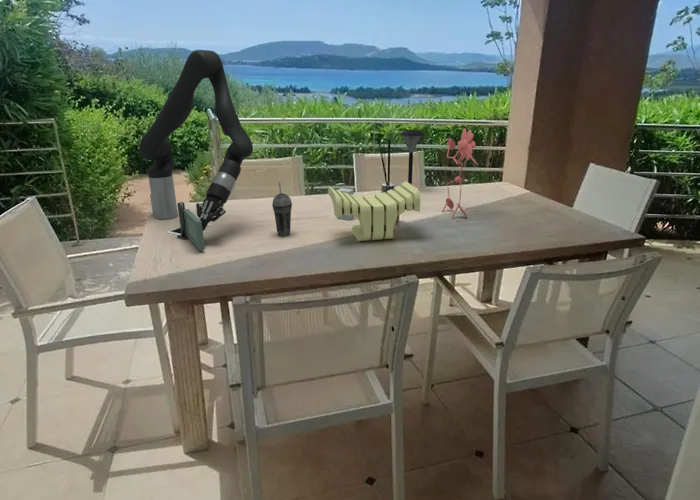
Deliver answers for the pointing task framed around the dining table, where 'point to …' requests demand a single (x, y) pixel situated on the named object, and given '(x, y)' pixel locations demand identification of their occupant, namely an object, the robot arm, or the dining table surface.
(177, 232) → the cell phone
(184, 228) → the post
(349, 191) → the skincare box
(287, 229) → the beverage cup
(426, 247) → the dining table surface
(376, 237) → the slatted curved stool
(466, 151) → the figurine
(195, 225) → the green rectangular panel
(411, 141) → the solar garden light
